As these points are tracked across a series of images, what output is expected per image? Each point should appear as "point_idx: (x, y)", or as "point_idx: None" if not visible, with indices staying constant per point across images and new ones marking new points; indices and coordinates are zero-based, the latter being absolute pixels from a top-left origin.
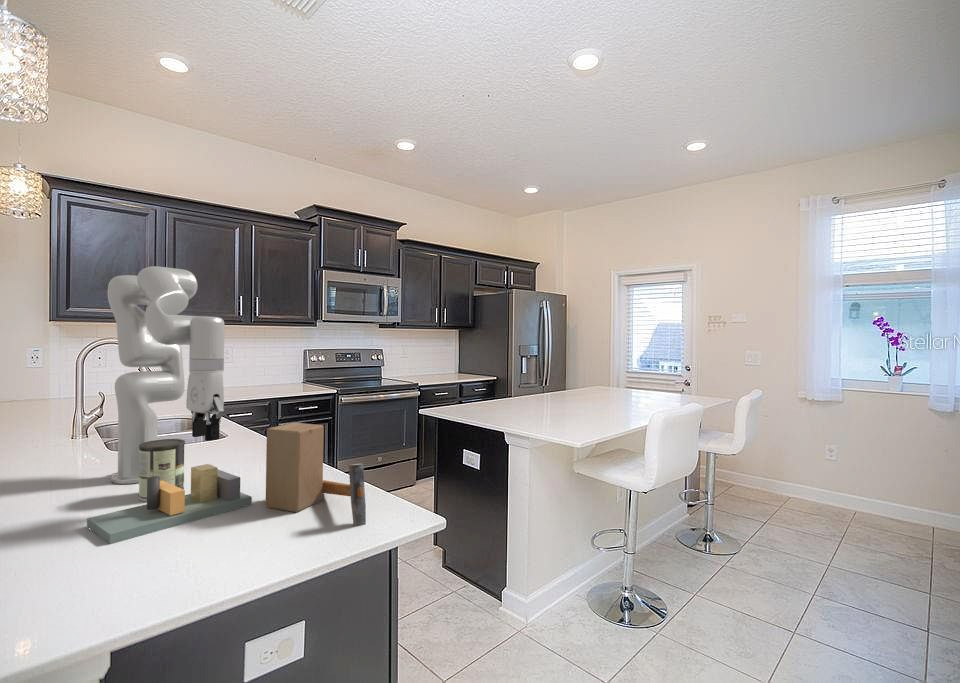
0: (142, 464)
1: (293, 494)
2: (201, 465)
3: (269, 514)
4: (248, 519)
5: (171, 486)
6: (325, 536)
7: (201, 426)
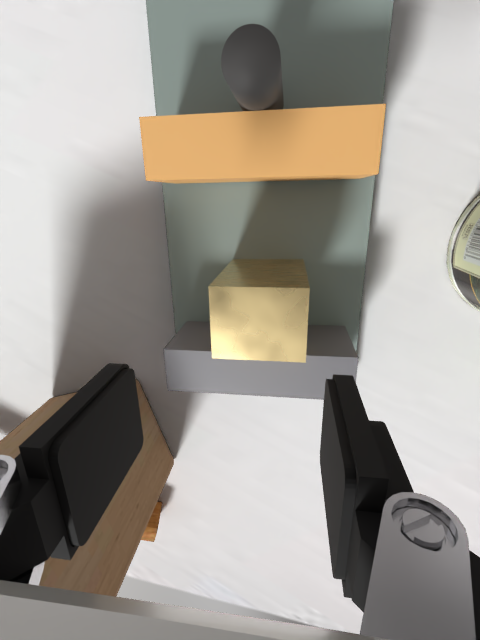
0: None
1: (27, 421)
2: (302, 333)
3: (84, 356)
4: (83, 307)
5: (241, 162)
6: None
7: (330, 489)
